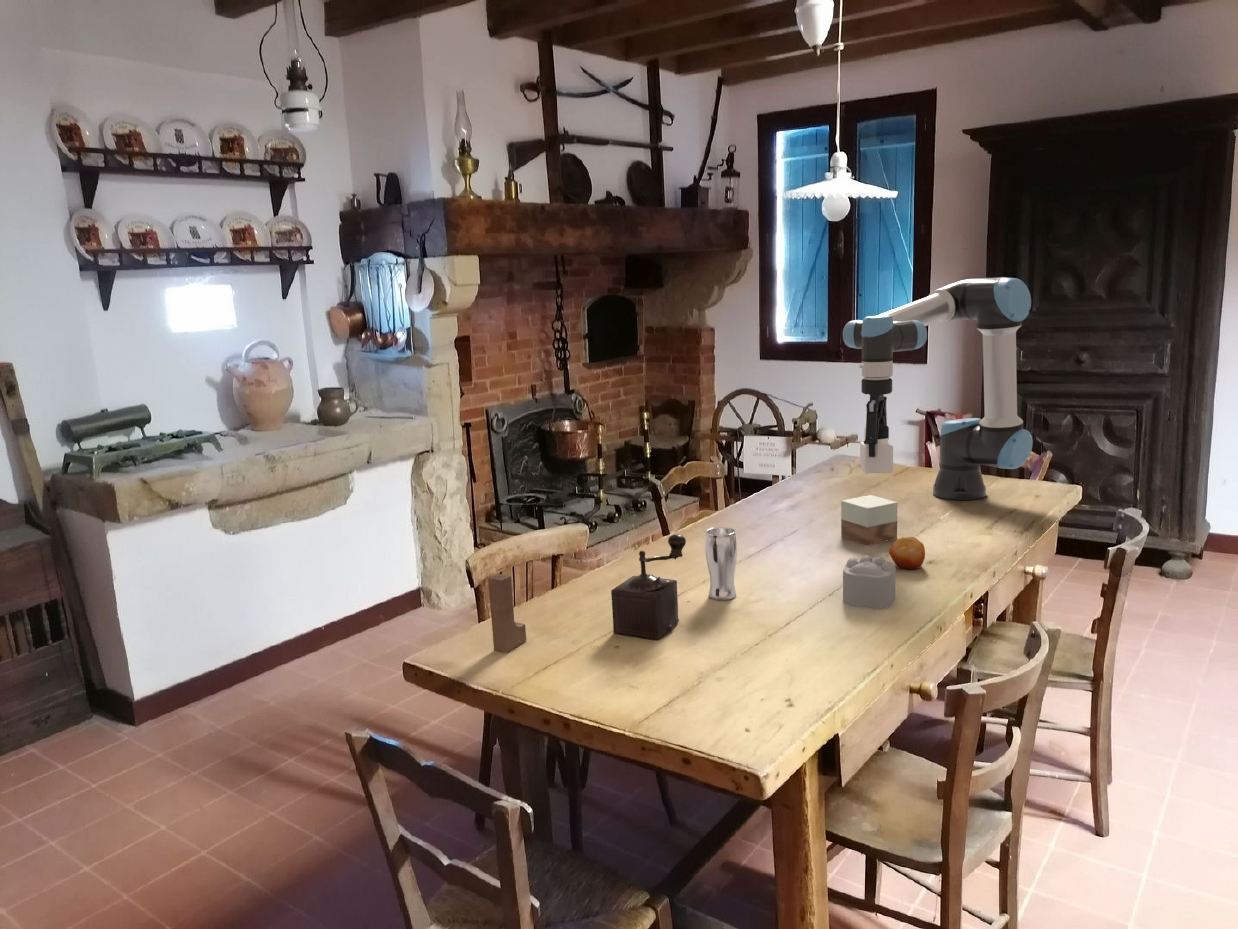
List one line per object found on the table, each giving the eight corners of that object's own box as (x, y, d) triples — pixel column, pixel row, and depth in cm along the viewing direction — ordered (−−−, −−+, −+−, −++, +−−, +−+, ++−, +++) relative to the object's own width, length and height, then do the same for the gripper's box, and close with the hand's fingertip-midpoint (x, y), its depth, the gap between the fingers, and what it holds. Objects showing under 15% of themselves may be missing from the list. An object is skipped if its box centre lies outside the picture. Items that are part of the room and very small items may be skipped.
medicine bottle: (887, 467, 240) (888, 421, 237) (893, 473, 233) (893, 426, 230) (859, 468, 241) (859, 422, 238) (864, 474, 234) (864, 427, 231)
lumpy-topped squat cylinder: (838, 605, 195) (838, 566, 193) (852, 585, 206) (852, 548, 205) (889, 611, 190) (889, 571, 189) (899, 590, 202) (900, 553, 200)
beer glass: (718, 603, 200) (716, 537, 196) (700, 594, 206) (698, 530, 203) (744, 597, 203) (742, 531, 200) (726, 588, 209) (724, 524, 206)
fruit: (928, 555, 220) (926, 532, 215) (924, 580, 215) (922, 557, 210) (893, 552, 223) (891, 529, 218) (888, 577, 218) (886, 554, 213)
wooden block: (506, 653, 179) (500, 580, 176) (493, 650, 181) (487, 578, 178) (526, 641, 185) (521, 570, 181) (514, 638, 186) (508, 568, 183)
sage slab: (870, 513, 247) (870, 495, 246) (897, 521, 238) (897, 502, 237) (841, 519, 242) (841, 500, 241) (867, 527, 234) (867, 508, 233)
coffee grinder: (661, 641, 181) (657, 554, 177) (612, 634, 186) (607, 549, 182) (692, 614, 194) (689, 532, 190) (646, 608, 199) (642, 528, 196)
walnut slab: (869, 530, 248) (870, 512, 247) (897, 539, 239) (897, 520, 238) (841, 537, 243) (841, 519, 242) (867, 546, 235) (867, 527, 234)
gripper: (870, 372, 243) (869, 456, 247) (852, 383, 224) (852, 473, 229) (899, 372, 240) (898, 457, 244) (884, 383, 221) (883, 474, 225)
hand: (876, 465), depth 236 cm, fingers closed on medicine bottle, 9 cm apart
